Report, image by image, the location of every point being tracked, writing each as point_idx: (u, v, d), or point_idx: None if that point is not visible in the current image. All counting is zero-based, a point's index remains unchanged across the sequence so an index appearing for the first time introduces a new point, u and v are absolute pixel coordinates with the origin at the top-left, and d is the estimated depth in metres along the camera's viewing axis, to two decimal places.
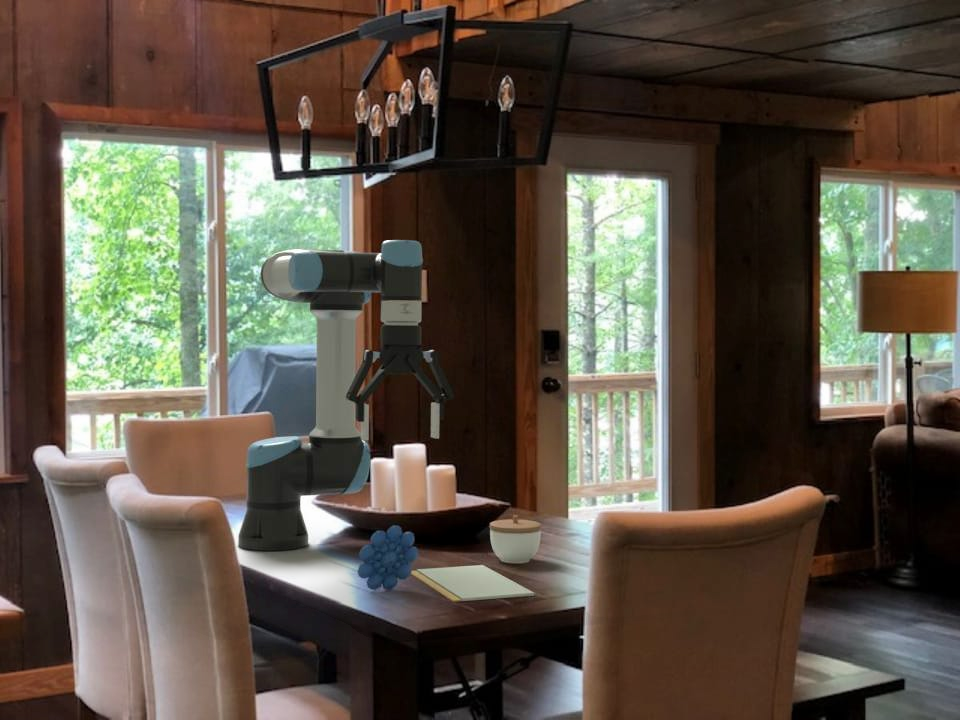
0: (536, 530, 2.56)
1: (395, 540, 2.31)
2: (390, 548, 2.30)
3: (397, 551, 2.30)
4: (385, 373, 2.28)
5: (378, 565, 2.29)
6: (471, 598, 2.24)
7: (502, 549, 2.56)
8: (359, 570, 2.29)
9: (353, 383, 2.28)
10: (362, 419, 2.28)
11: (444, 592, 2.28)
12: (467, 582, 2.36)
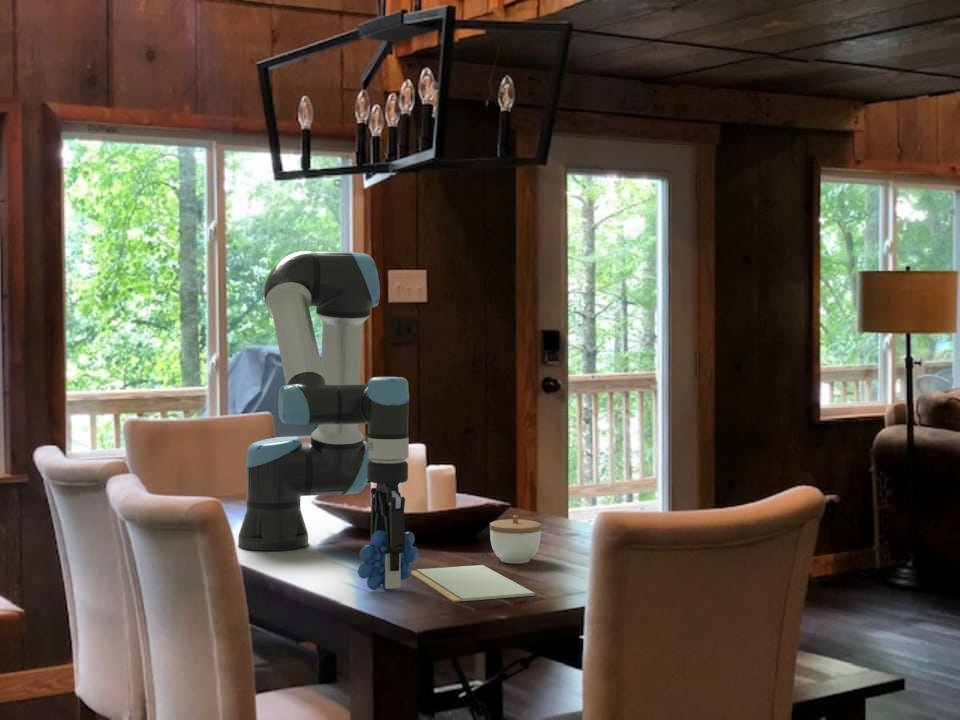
0: (536, 530, 2.56)
1: None
2: None
3: None
4: (375, 510, 2.33)
5: (378, 565, 2.29)
6: (471, 598, 2.24)
7: (502, 549, 2.56)
8: (359, 570, 2.29)
9: None
10: None
11: (444, 592, 2.28)
12: (467, 582, 2.36)
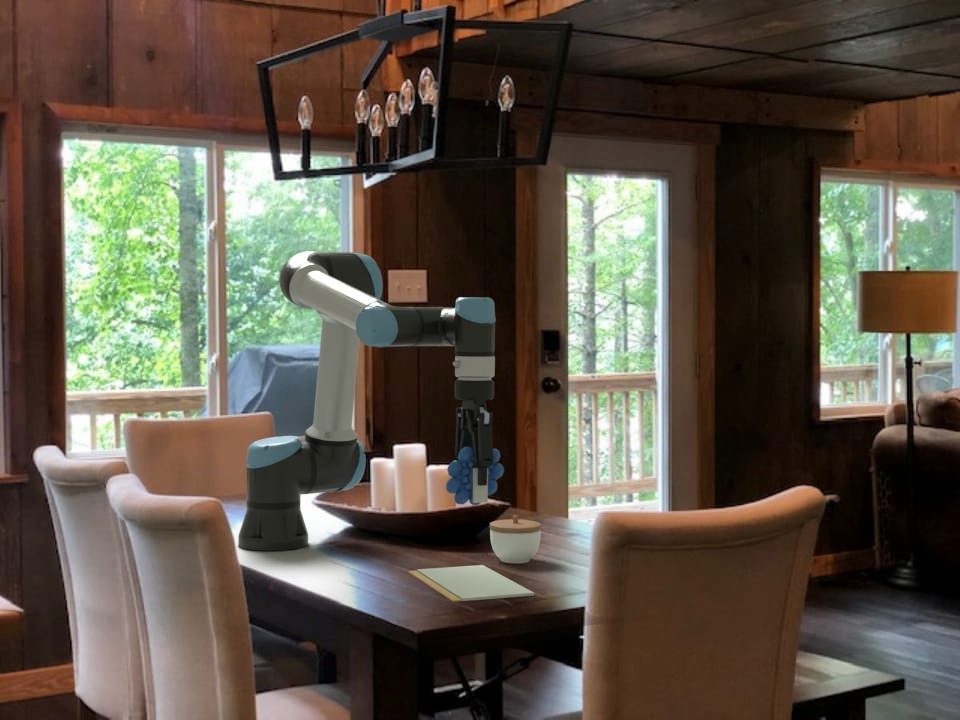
0: (536, 530, 2.56)
1: None
2: None
3: None
4: (461, 428, 2.39)
5: (466, 480, 2.35)
6: (471, 598, 2.24)
7: (502, 549, 2.56)
8: (447, 485, 2.34)
9: None
10: None
11: (444, 592, 2.28)
12: (467, 582, 2.36)
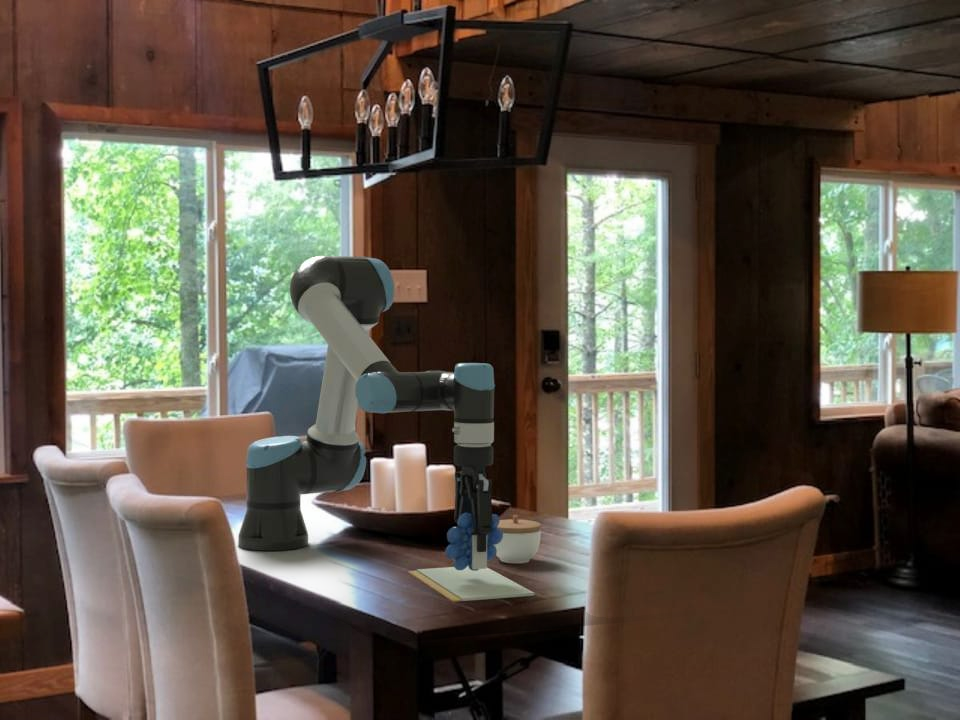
0: (536, 530, 2.56)
1: None
2: None
3: None
4: (460, 493, 2.39)
5: (465, 546, 2.35)
6: (471, 598, 2.24)
7: (502, 549, 2.56)
8: (447, 551, 2.35)
9: None
10: None
11: (444, 592, 2.28)
12: (467, 582, 2.36)
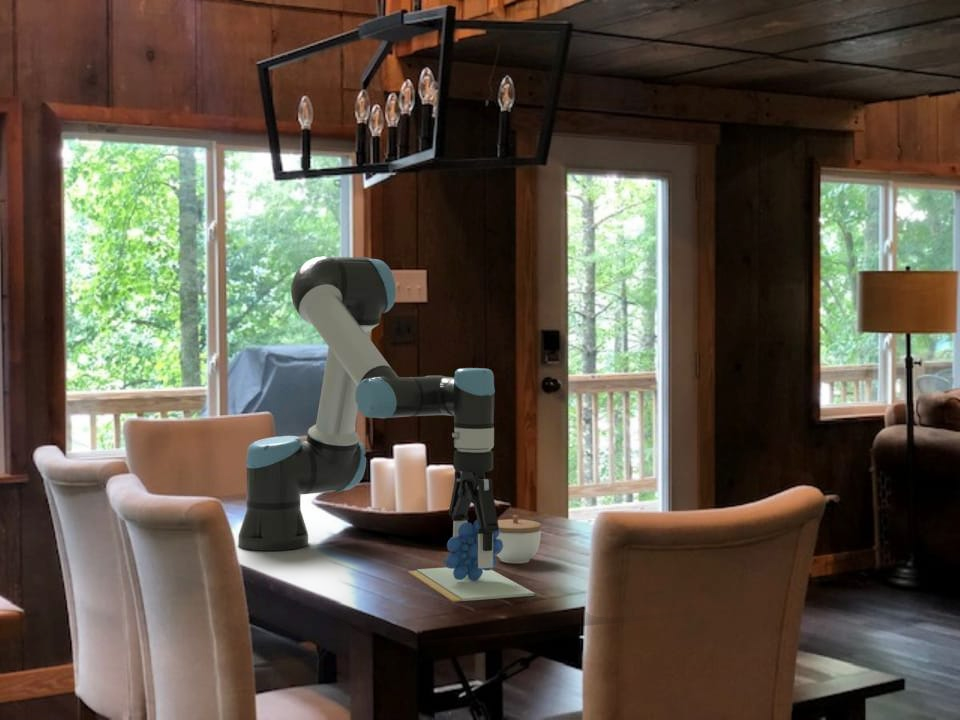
0: (536, 530, 2.56)
1: None
2: (477, 540, 2.36)
3: None
4: (458, 494, 2.40)
5: (465, 556, 2.36)
6: (471, 598, 2.24)
7: (502, 549, 2.56)
8: (446, 560, 2.35)
9: None
10: None
11: (444, 592, 2.28)
12: (467, 582, 2.36)
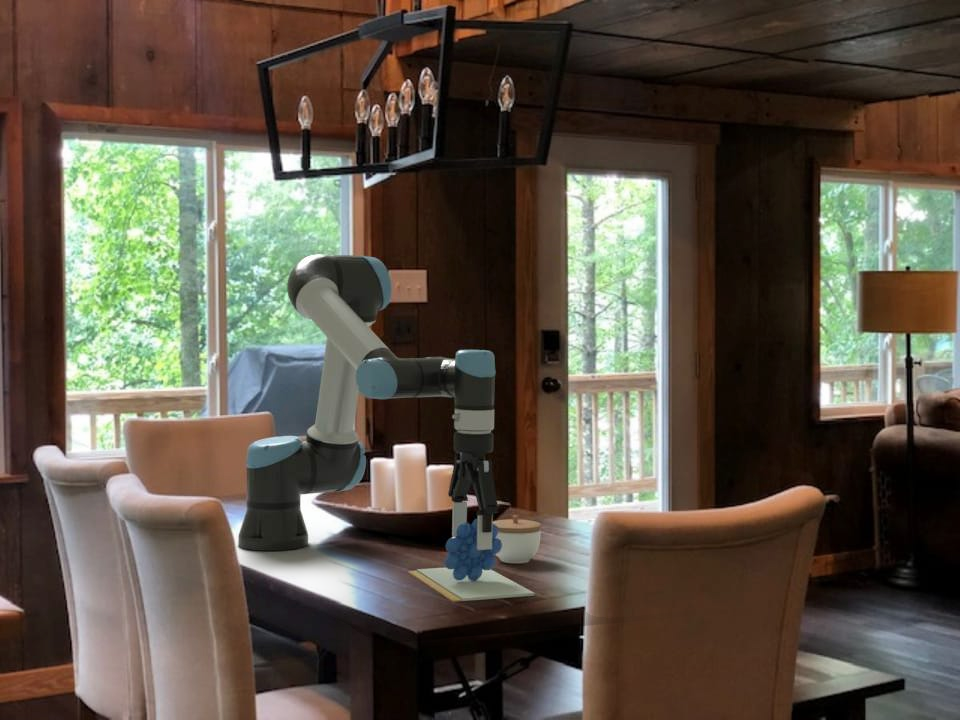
0: (536, 530, 2.56)
1: None
2: (475, 540, 2.36)
3: None
4: (458, 476, 2.40)
5: (464, 556, 2.36)
6: (471, 598, 2.24)
7: (502, 549, 2.56)
8: (446, 561, 2.35)
9: None
10: None
11: (444, 592, 2.28)
12: (467, 582, 2.36)
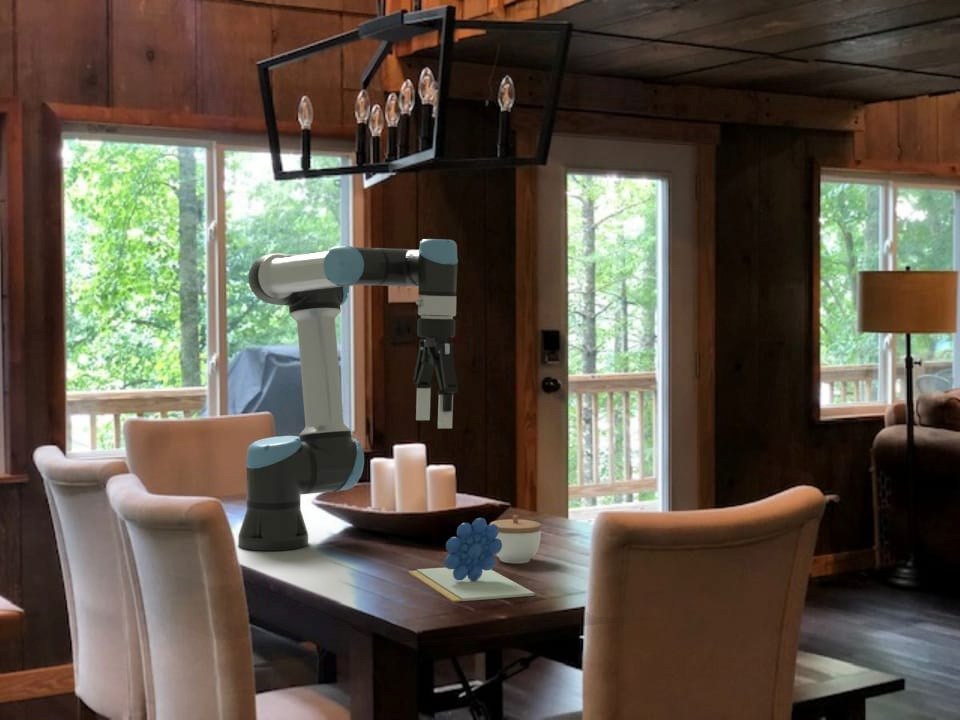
0: (536, 530, 2.56)
1: (480, 532, 2.37)
2: (475, 540, 2.36)
3: (482, 543, 2.37)
4: (421, 361, 2.51)
5: (464, 556, 2.36)
6: (471, 598, 2.24)
7: (502, 549, 2.56)
8: (446, 561, 2.35)
9: None
10: None
11: (444, 592, 2.28)
12: (467, 582, 2.36)
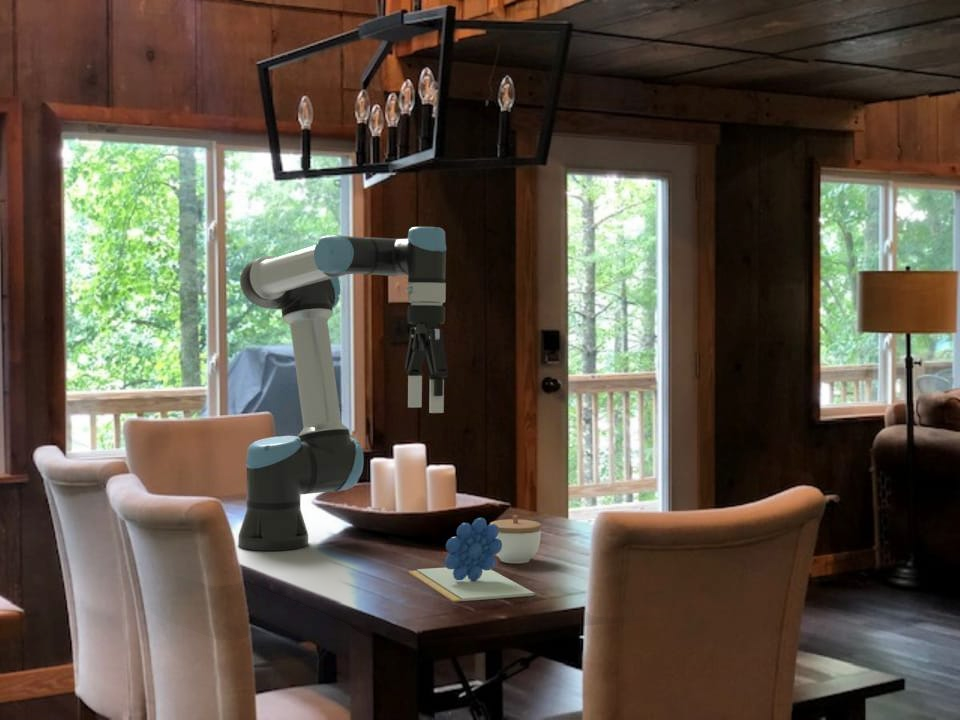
0: (536, 530, 2.56)
1: (480, 532, 2.37)
2: (476, 540, 2.36)
3: (482, 543, 2.37)
4: (412, 348, 2.53)
5: (464, 556, 2.36)
6: (471, 598, 2.24)
7: (502, 549, 2.56)
8: (446, 561, 2.35)
9: None
10: None
11: (444, 592, 2.28)
12: (467, 582, 2.36)
